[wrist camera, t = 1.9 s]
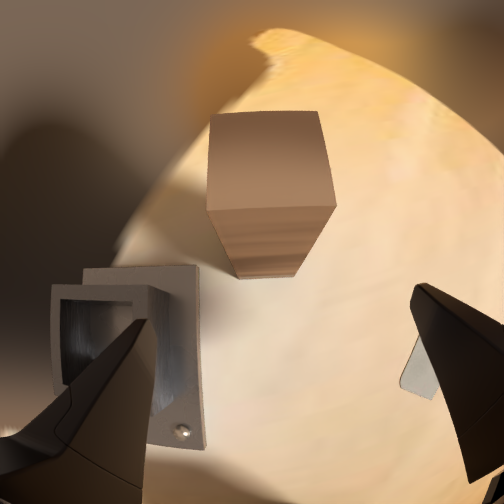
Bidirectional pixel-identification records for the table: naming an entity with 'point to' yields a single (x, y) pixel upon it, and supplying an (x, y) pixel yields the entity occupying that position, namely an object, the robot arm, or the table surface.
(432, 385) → the mounting bracket
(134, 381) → the robot arm
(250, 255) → the rail post
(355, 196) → the table surface
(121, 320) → the cup bracket
